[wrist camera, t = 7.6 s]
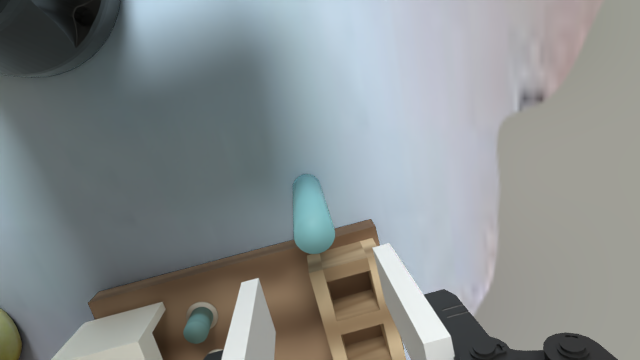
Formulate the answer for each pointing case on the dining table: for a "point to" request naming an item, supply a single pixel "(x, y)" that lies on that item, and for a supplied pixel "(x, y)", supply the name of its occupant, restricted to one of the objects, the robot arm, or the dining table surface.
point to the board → (274, 301)
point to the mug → (9, 338)
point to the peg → (311, 216)
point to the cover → (116, 337)
